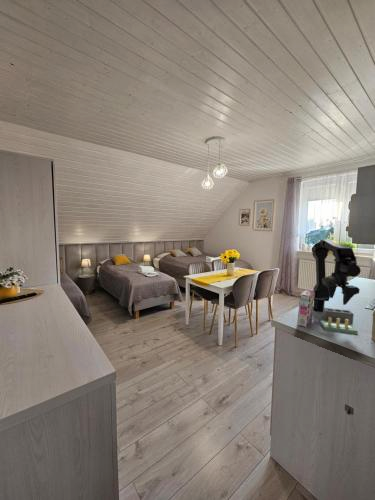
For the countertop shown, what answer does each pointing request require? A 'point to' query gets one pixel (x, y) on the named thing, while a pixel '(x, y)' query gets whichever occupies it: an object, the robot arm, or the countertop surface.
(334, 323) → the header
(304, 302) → the candy bar box
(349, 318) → the grey cinder block
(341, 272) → the robot arm
